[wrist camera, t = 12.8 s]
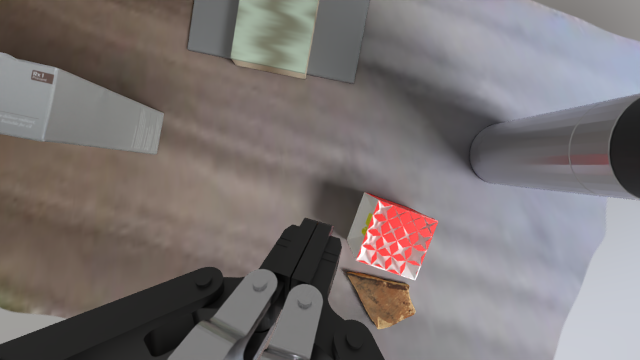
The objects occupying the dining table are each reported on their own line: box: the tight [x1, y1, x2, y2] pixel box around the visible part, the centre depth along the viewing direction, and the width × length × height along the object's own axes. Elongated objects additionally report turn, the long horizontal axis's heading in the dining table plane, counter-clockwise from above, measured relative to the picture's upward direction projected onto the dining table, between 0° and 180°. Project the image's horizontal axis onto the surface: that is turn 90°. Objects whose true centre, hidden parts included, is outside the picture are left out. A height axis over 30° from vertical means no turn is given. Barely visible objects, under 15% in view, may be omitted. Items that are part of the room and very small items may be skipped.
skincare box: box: [0, 53, 164, 154], centre depth 27 cm, size 8×7×16 cm
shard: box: [347, 272, 416, 329], centre depth 37 cm, size 11×8×2 cm
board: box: [231, 0, 319, 79], centre depth 33 cm, size 10×2×14 cm
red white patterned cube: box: [347, 192, 438, 280], centre depth 33 cm, size 8×8×8 cm
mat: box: [188, 0, 370, 84], centre depth 34 cm, size 24×14×1 cm, turn 79°
